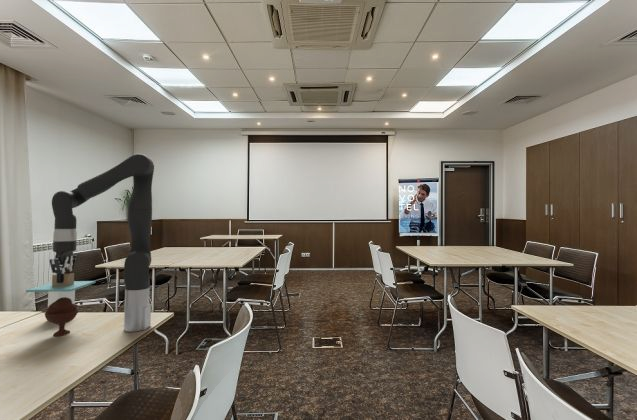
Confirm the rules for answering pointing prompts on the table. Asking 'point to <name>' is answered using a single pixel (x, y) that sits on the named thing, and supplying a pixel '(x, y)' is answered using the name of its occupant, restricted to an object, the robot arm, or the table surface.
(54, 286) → the teal square mat
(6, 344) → the table surface
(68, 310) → the ice cream bowl
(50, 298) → the milk carton
